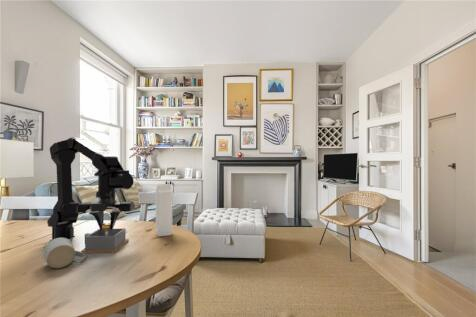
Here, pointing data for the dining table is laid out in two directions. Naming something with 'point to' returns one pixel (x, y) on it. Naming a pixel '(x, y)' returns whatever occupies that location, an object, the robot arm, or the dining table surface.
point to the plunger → (106, 228)
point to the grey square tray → (105, 241)
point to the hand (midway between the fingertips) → (106, 229)
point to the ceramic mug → (61, 253)
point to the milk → (164, 210)
